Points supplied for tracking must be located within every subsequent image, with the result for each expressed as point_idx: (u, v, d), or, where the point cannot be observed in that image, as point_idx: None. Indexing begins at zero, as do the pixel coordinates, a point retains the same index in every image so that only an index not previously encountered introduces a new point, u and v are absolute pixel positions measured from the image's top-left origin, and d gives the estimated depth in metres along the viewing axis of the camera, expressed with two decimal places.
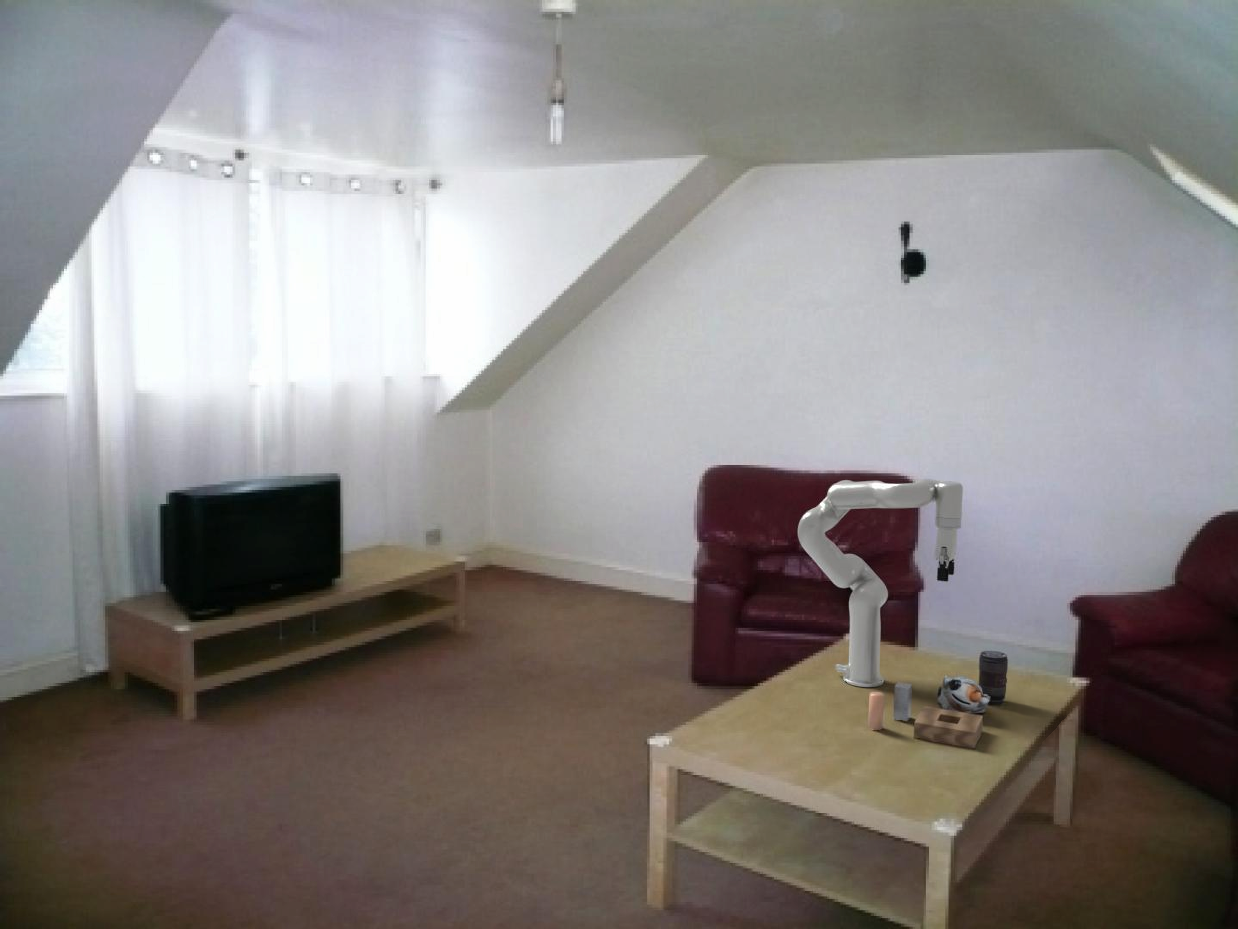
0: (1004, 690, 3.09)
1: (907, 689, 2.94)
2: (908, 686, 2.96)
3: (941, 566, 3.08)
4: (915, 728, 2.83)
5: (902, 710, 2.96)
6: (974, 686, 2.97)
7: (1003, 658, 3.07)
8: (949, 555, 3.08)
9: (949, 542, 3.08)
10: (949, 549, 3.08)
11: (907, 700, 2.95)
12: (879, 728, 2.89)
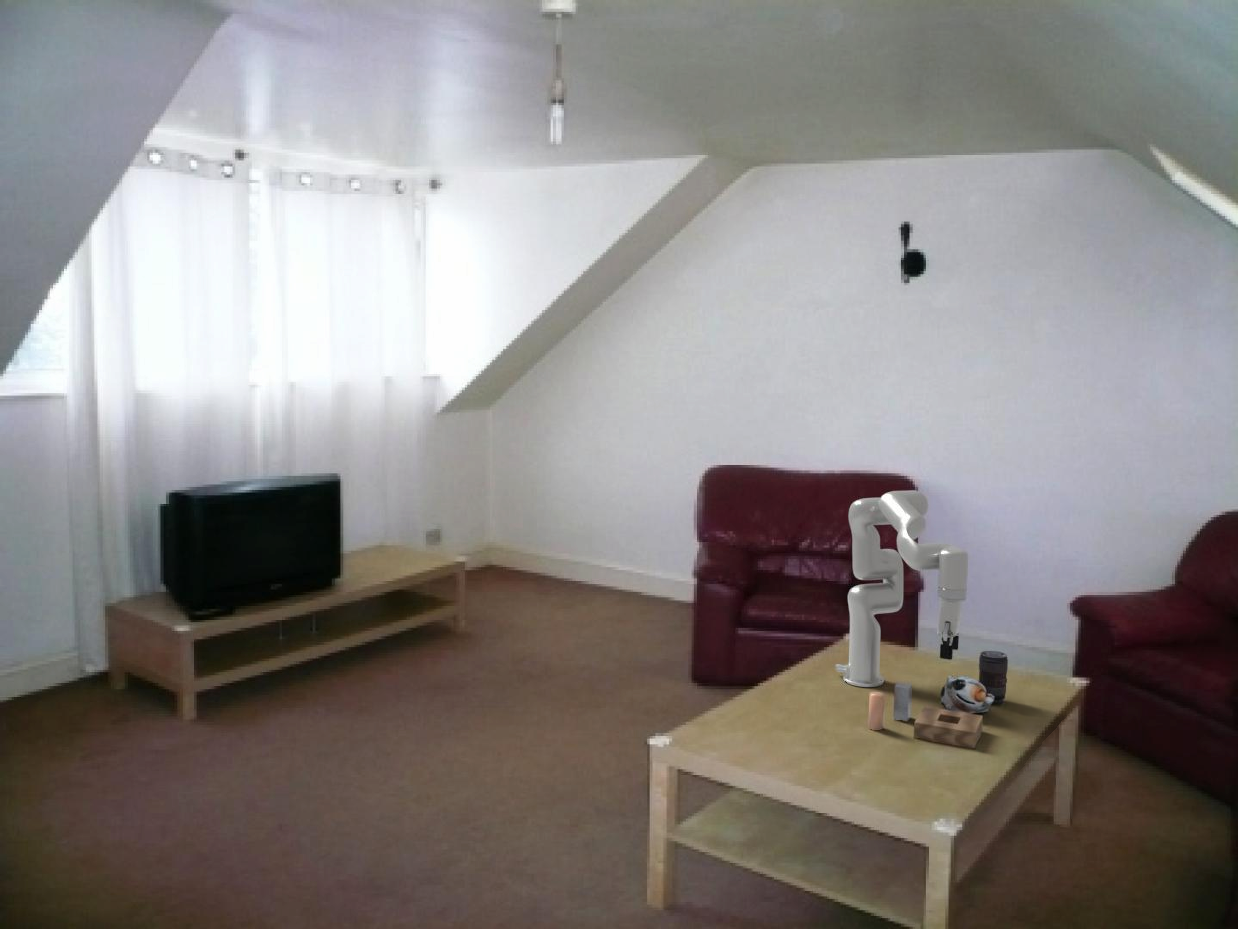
0: (1004, 690, 3.09)
1: (907, 689, 2.94)
2: (908, 686, 2.96)
3: (944, 643, 2.78)
4: (915, 728, 2.83)
5: (902, 710, 2.96)
6: (978, 686, 2.97)
7: (1003, 658, 3.07)
8: (953, 631, 2.78)
9: (953, 616, 2.78)
10: (953, 624, 2.78)
11: (907, 700, 2.95)
12: (879, 728, 2.89)
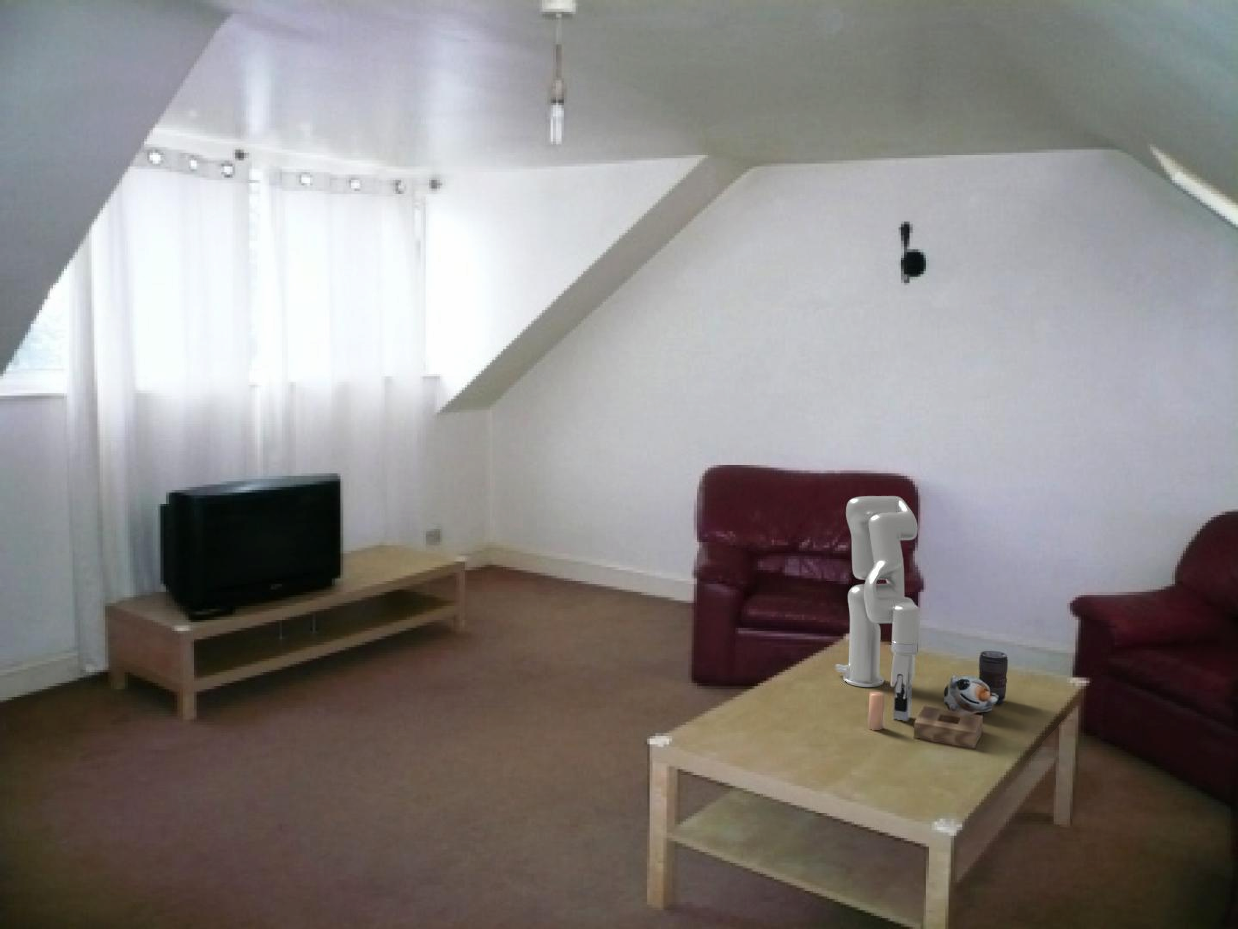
0: (1004, 690, 3.09)
1: (907, 689, 2.94)
2: None
3: (899, 696, 2.94)
4: (915, 728, 2.83)
5: None
6: (982, 686, 2.97)
7: (1003, 658, 3.07)
8: (905, 683, 2.91)
9: (905, 670, 2.91)
10: (905, 677, 2.91)
11: (907, 700, 2.95)
12: (879, 728, 2.89)
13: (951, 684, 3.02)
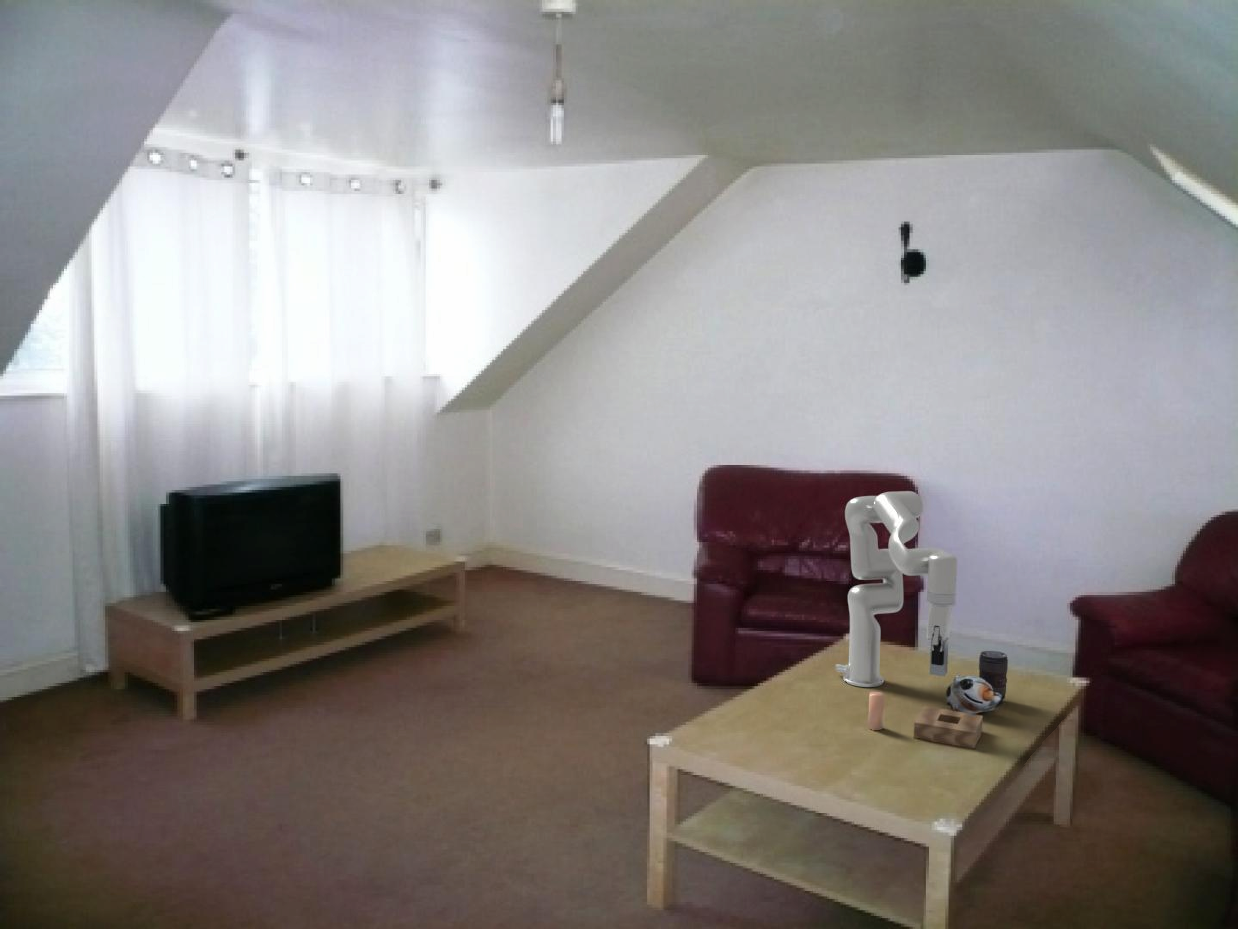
0: (1004, 690, 3.09)
1: (944, 642, 2.84)
2: None
3: (935, 649, 2.83)
4: (915, 728, 2.83)
5: None
6: (985, 685, 2.98)
7: (1003, 658, 3.07)
8: (942, 635, 2.81)
9: (942, 621, 2.81)
10: (942, 628, 2.81)
11: (944, 653, 2.84)
12: (879, 728, 2.89)
13: (954, 684, 3.03)
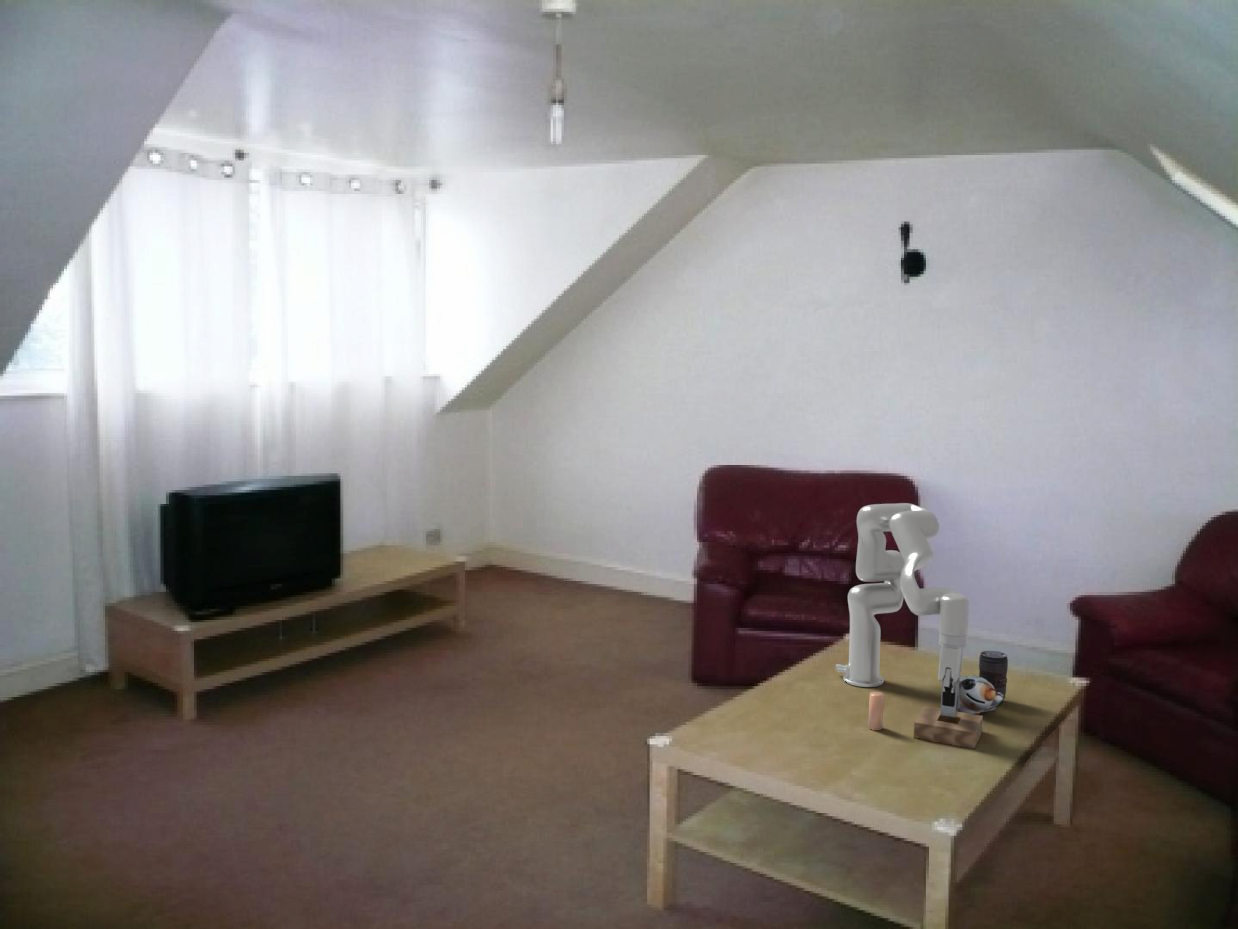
0: (1004, 690, 3.09)
1: (955, 683, 2.82)
2: None
3: (946, 691, 2.81)
4: (915, 728, 2.83)
5: None
6: (987, 685, 2.98)
7: (1003, 658, 3.07)
8: (954, 677, 2.79)
9: (954, 663, 2.79)
10: (954, 670, 2.79)
11: (955, 694, 2.82)
12: (879, 728, 2.89)
13: None
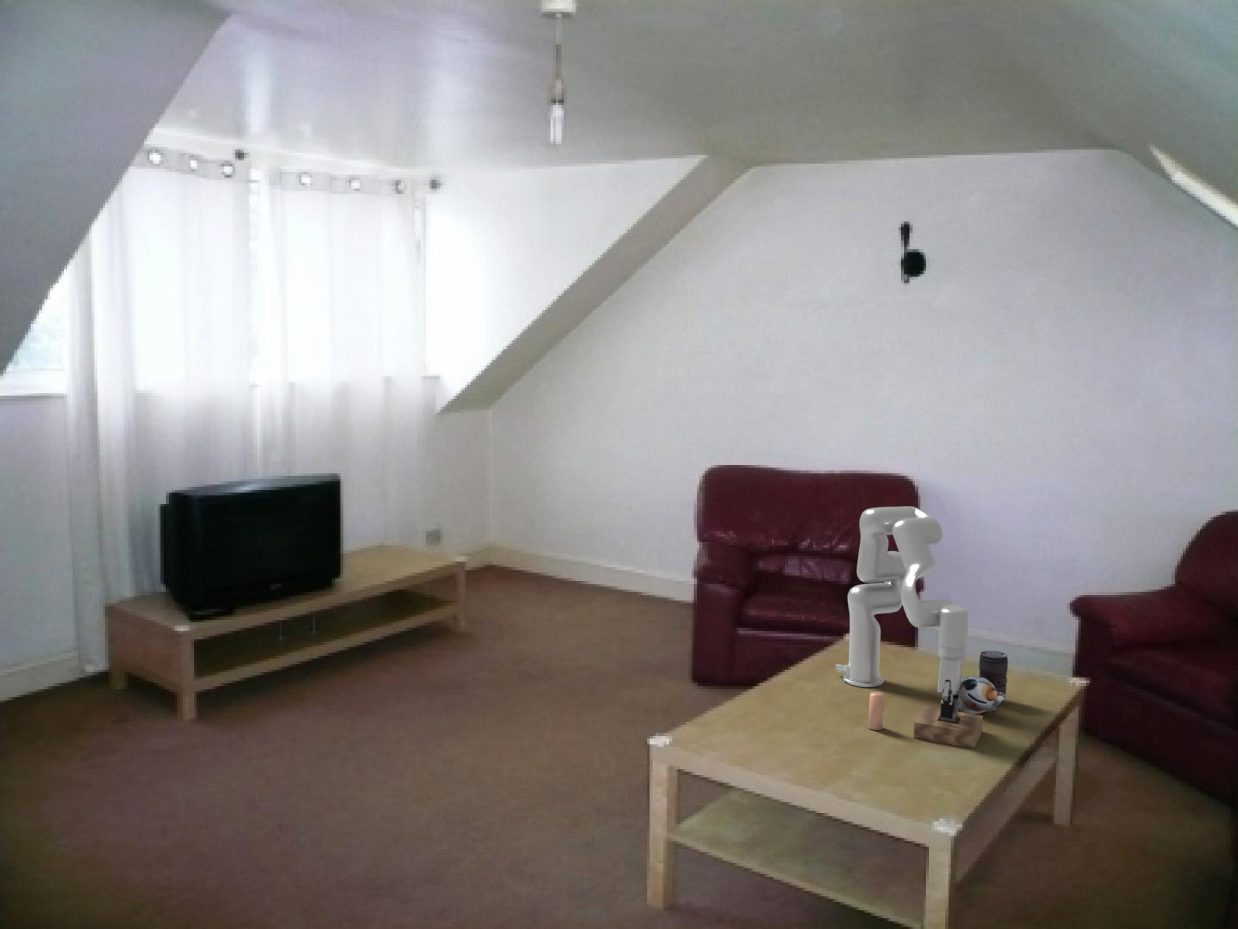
0: (1004, 690, 3.09)
1: (954, 704, 2.83)
2: (955, 700, 2.85)
3: (945, 702, 2.80)
4: (915, 728, 2.83)
5: None
6: (989, 685, 2.98)
7: (1003, 658, 3.07)
8: (953, 689, 2.80)
9: (953, 675, 2.79)
10: (953, 683, 2.79)
11: (954, 715, 2.83)
12: (879, 728, 2.89)
13: None
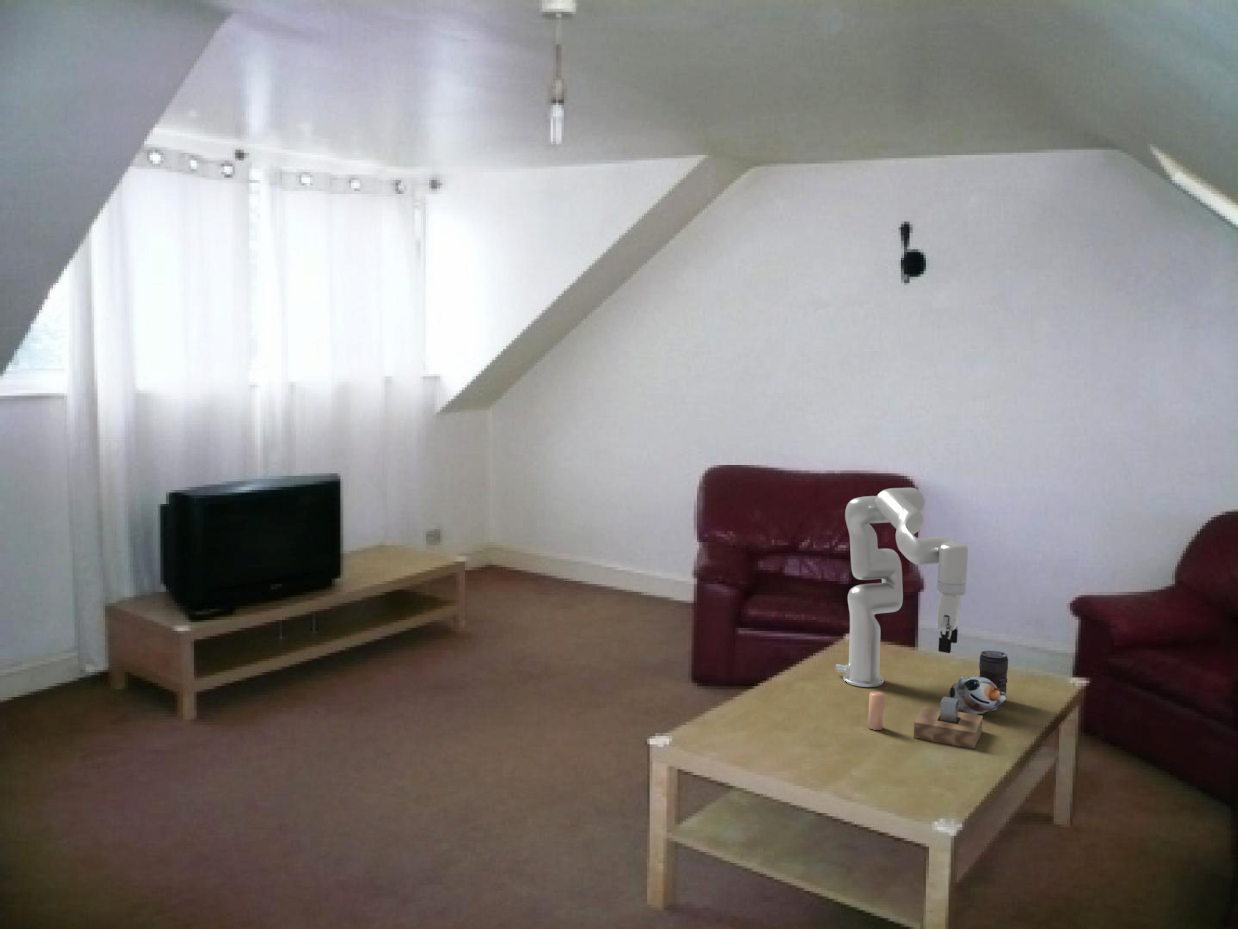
0: (1004, 689, 3.09)
1: (954, 704, 2.83)
2: (955, 700, 2.85)
3: (943, 636, 2.81)
4: (915, 728, 2.83)
5: None
6: (991, 685, 2.98)
7: (1003, 658, 3.07)
8: (952, 624, 2.81)
9: (952, 610, 2.80)
10: (952, 618, 2.80)
11: (954, 715, 2.83)
12: (879, 728, 2.89)
13: (959, 685, 3.02)
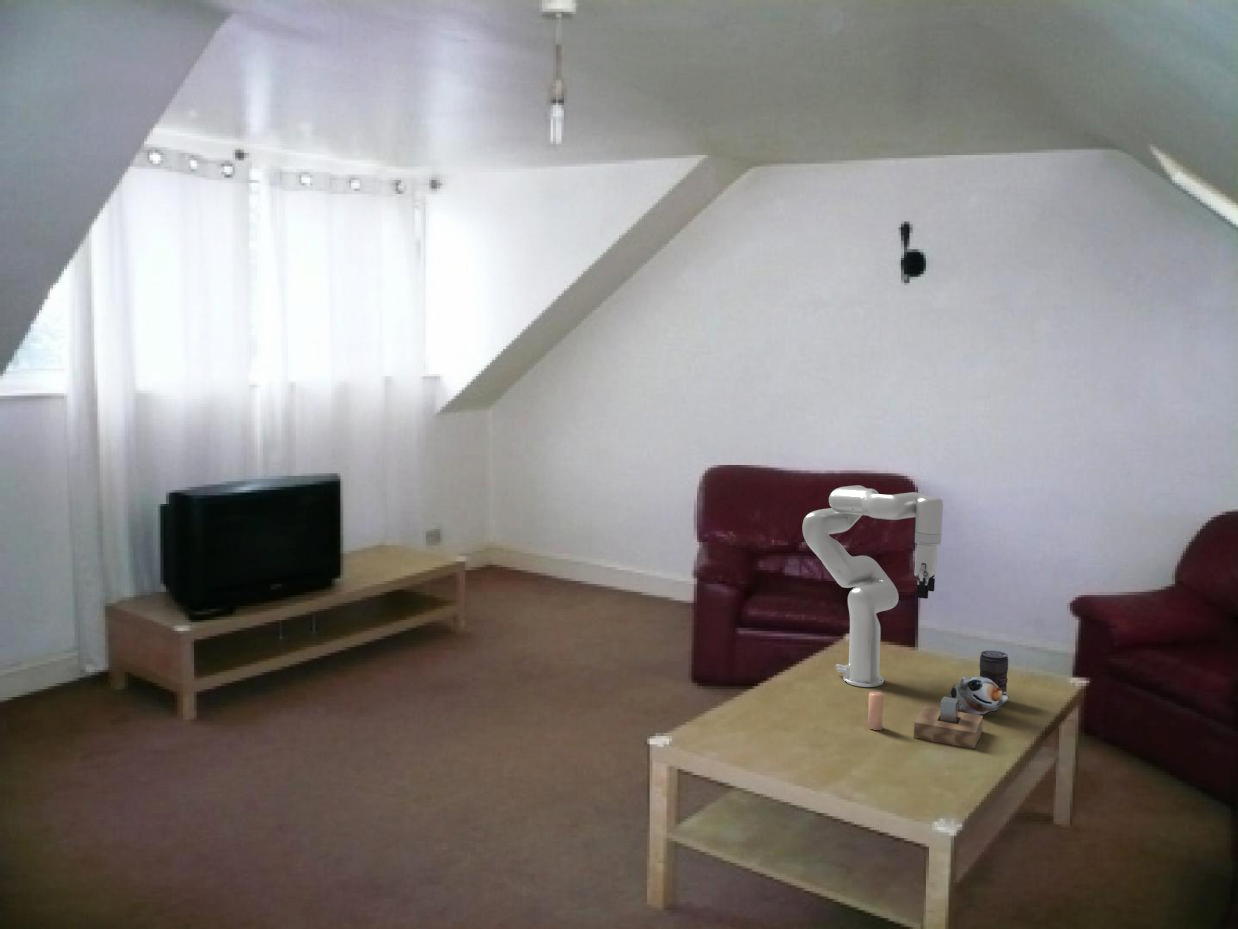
0: (1004, 689, 3.09)
1: (954, 704, 2.83)
2: (955, 700, 2.85)
3: (921, 583, 3.02)
4: (915, 728, 2.83)
5: None
6: (993, 685, 2.98)
7: (1003, 658, 3.07)
8: (929, 572, 3.02)
9: (929, 558, 3.02)
10: (929, 565, 3.02)
11: (954, 715, 2.83)
12: (879, 728, 2.89)
13: (961, 685, 3.01)
